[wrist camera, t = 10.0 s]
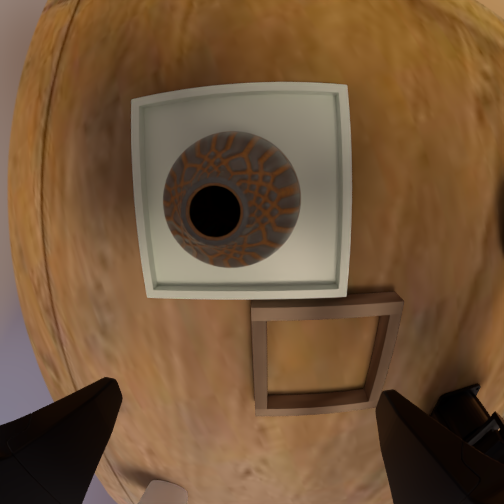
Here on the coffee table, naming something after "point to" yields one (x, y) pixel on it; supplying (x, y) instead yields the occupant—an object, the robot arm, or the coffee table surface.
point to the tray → (298, 153)
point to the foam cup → (164, 493)
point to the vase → (231, 199)
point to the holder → (315, 309)
